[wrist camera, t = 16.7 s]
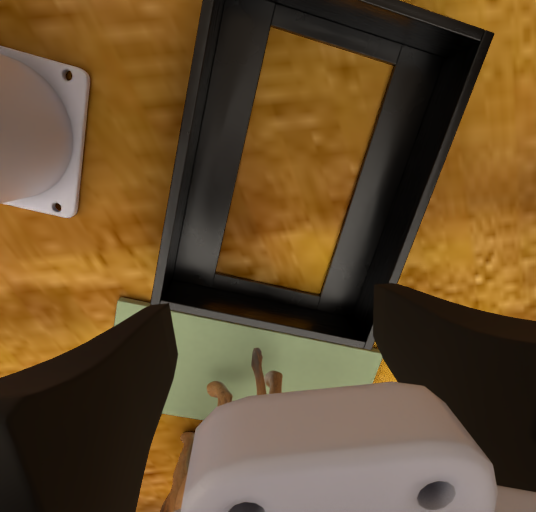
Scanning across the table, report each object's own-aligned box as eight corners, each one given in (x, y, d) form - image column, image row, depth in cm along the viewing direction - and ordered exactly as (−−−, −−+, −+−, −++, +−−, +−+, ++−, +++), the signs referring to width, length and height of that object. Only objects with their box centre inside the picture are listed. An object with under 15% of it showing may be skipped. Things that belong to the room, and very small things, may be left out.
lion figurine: (234, 473, 28) (221, 634, 20) (169, 462, 27) (130, 625, 19) (296, 349, 21) (313, 524, 13) (211, 329, 20) (174, 502, 12)
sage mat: (105, 398, 24) (102, 404, 24) (120, 296, 22) (117, 300, 21) (345, 437, 26) (348, 444, 26) (381, 349, 24) (384, 354, 24)
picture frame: (164, 283, 22) (149, 306, 19) (219, -25, 17) (213, -64, 14) (354, 323, 23) (371, 350, 20) (454, 52, 19) (495, 32, 16)
